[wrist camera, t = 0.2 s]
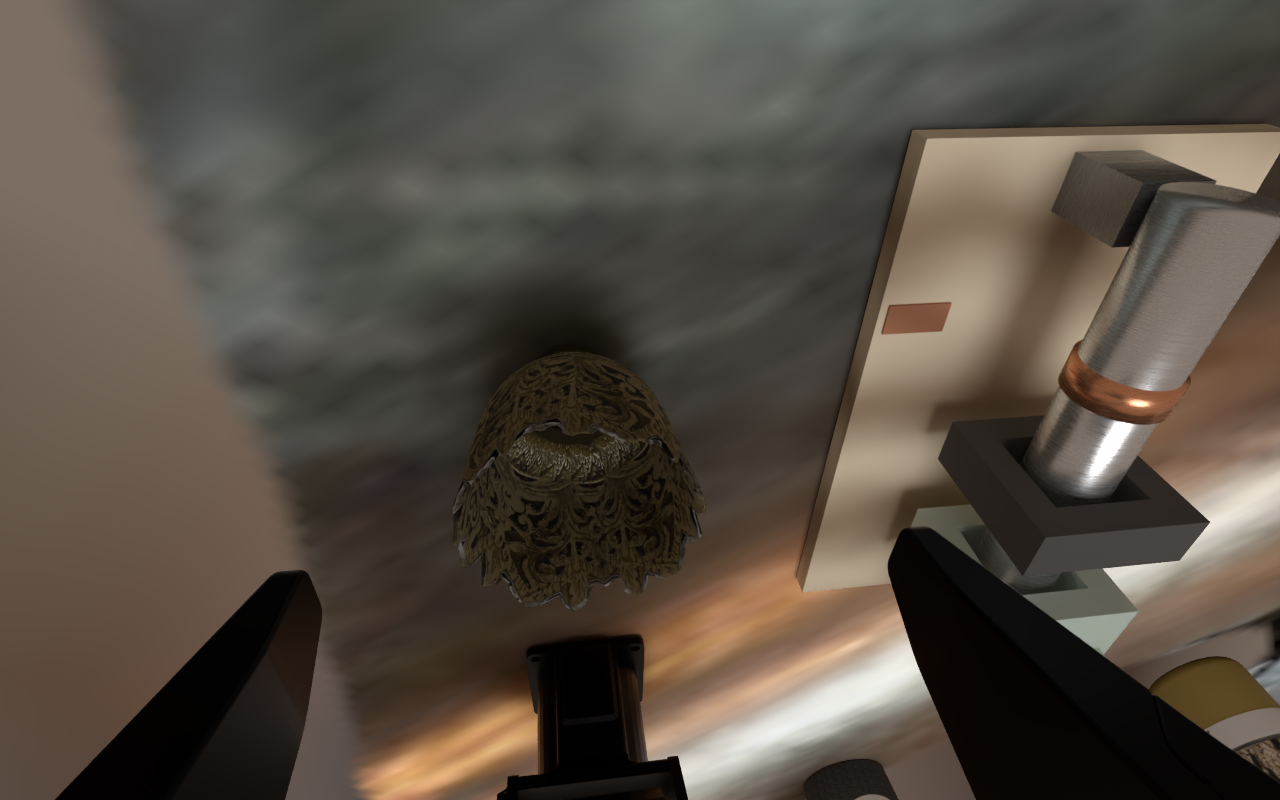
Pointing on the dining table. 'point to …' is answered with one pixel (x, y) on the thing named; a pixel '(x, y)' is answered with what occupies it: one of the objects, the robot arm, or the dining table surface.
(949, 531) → the sleeve
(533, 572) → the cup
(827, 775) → the coffee cup
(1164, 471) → the dining table surface
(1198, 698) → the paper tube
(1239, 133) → the base board
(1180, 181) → the steel pipe
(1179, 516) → the rubber collar
